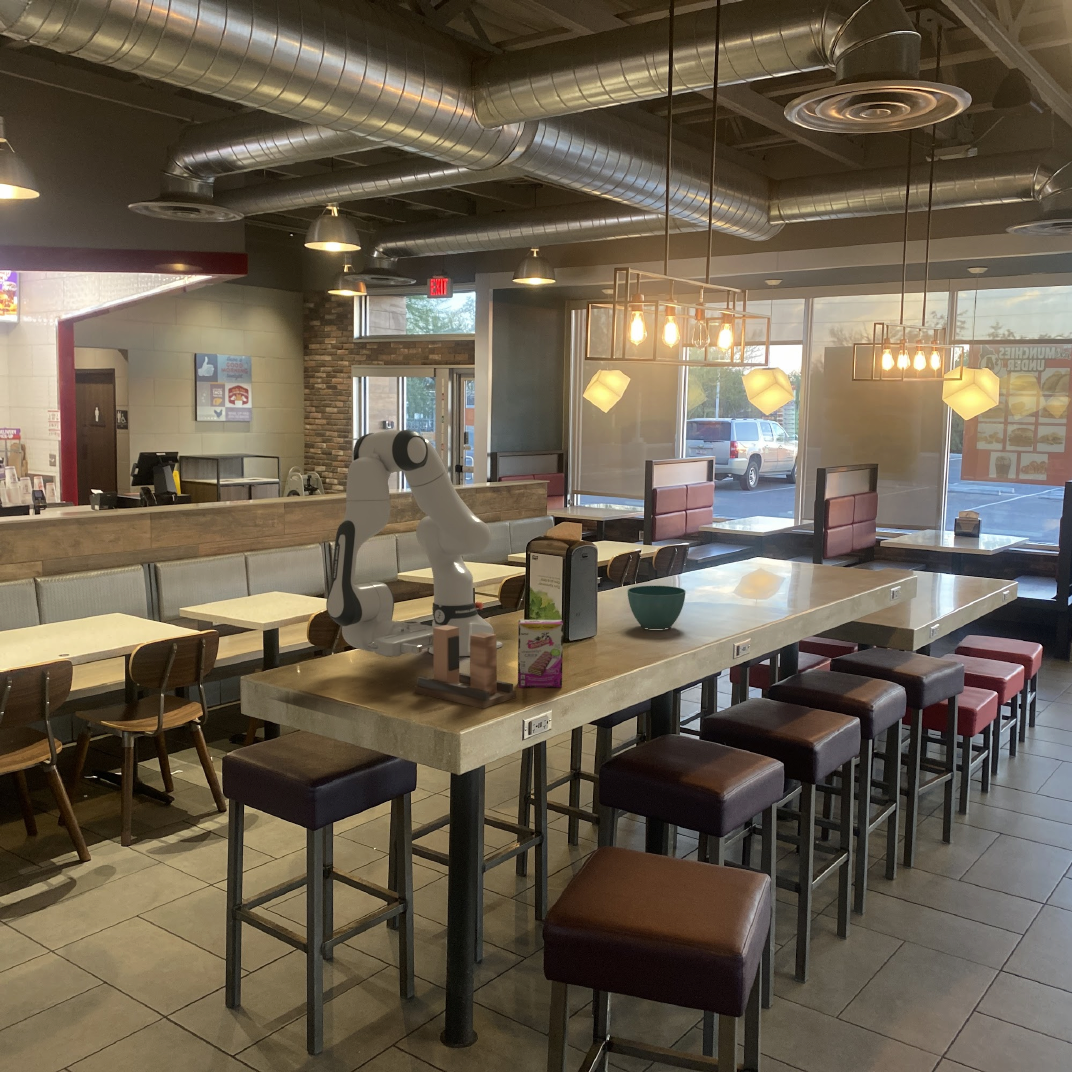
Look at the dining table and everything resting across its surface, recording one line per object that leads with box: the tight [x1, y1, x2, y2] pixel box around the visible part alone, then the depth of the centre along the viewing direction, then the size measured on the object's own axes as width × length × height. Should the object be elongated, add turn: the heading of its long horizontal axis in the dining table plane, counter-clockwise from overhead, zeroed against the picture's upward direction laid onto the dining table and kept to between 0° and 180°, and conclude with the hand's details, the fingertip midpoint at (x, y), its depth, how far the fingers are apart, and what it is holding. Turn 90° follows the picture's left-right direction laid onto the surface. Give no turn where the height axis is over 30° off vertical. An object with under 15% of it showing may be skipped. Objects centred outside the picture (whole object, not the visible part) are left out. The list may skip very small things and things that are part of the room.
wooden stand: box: [414, 632, 517, 709], centre depth 244 cm, size 12×22×16 cm, turn 52°
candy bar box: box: [517, 619, 564, 689], centre depth 252 cm, size 11×5×16 cm, turn 92°
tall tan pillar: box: [432, 625, 460, 684], centre depth 247 cm, size 4×5×14 cm
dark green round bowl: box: [627, 585, 686, 629], centre depth 322 cm, size 18×18×12 cm
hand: (433, 646), depth 250 cm, fingers open, 8 cm apart
